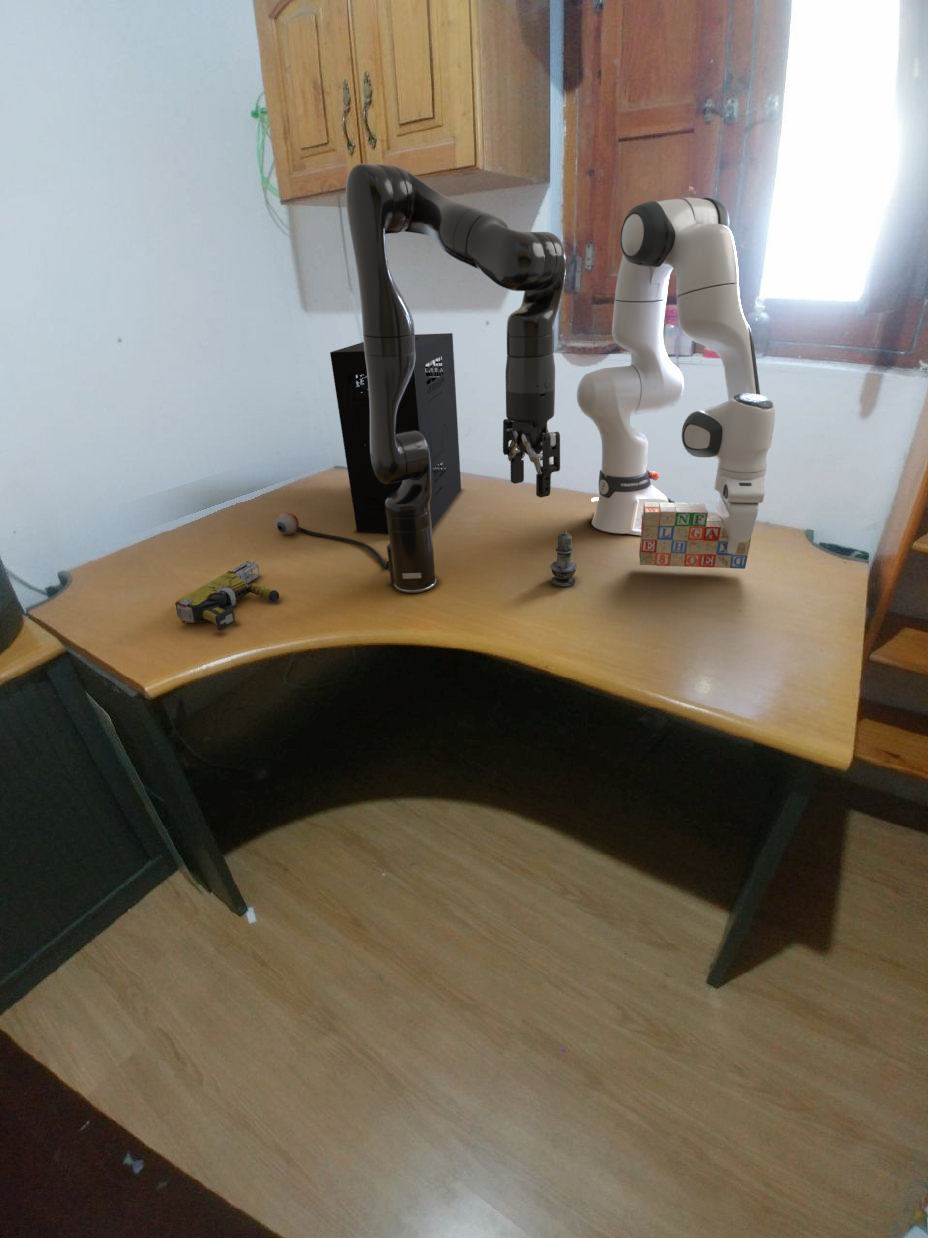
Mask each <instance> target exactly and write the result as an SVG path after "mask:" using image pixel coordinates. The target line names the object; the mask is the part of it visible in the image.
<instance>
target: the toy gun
mask: <svg viewBox="0 0 928 1238" xmlns="http://www.w3.org/2000/svg"><path fill="white" fill-rule="evenodd" d="M251 562H252V561H251V560H247V561H245V562H244V563H242V564H240V565H239V566H237V567H235V568H234V569H232V570H228V571H226V572H225V573H223V574H221V575H220V576H218V577H216V578H214V579H212V580H211V581H209V582H207V583H205V584H203V585H202V586H201V587H199V588H197V589H195V590H193V591H192V592H189V594H187V595H185V596H183V597H181V598H180V599H178V600H176V601H175V603H174V606H175V610H176V615H177V617H178V618H179V620H181V622H182V623H183V624H185V623H186V624H187V625H189V624H192V623H193V624H198V623H199V624H200V623H204V622H207V621H209V622H212V623H213V624H215V625H216V628H217V631H222V630H224V629H226V628H228V627H230V626H231V625H233V624H235V623H236V619H235V611H234V609H233V607H234V606H236V605H237V600H239V599H241V598H242V597H245V596H247V595H249V594H252V595H255V596H258V597H259V598H263V599H265V600H268V601H270V602H272V603H275V602H277V601H278V600H279V599H280V593H279V591H278V590H276V589H271V588H269V587H268V588H267V587H266V586H263V585H262V584H261V585H260V584H258V583H256V582H254V583H252V584H251V585H248V584H249V583H250V582H253V581H254V580H255V579H257V578H259V577H260V567H259V564H258V563H257V562H256V561H253V562H252V563H251ZM256 569H257V573H254V571H255V570H256Z"/></svg>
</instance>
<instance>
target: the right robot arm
mask: <svg viewBox="0 0 928 1238" xmlns="http://www.w3.org/2000/svg"><path fill="white" fill-rule="evenodd" d="M619 242H620V248H621V251H622V257H621V261H620V265H619V270H618V274H617V279H616V285H615V293H614V302H613V312H612V326H611V336H612V339H613V341H614V343H616V344H617V345H618V346H619V347H621V348H622V349H624V350H626V351H628V352H629V353H630V365H623V366H613V367H612V366H611V367H604V368H603V367H602V368H600V369H596V370H594V371H590V372H587V373H585V374H584V375H583V377H582V378H581V379H580V381H579V383H578V386H577V389H576V402H577V405H578V407H579V409H580V411H581V412H582V413H583V415H585V416H586V417H588V418H589V419H590V420H591V421H592V422H593V424H594V425H595V426H596V428H597V431H598V432H599V433H598V434H599V436H600V441H601V468H600V470H599V474H598V492H599V493H598V496H597V497H592V498H591V502H596V501H597V502H596V507H595V511H594V514H593V517H592V520H591V525H592V526H593V527H594V528H595V529H597V530H599V531H601V532H605V533H611V534H623V535H625V534H626V535H632V536H633V535H634V536H641V524H642V516H643V510H644V502H658V503H677V502H675V500H671V498H669V497H667V496H666V495H665V494H664V493H663V492H661V491H660V490H659V489H658V488H656V487H655V486H654V485H652V483H651V480H653V481H658V479H659V478H660V473H659V472H657V471H654V470H651V471H649V470H648V469H647V466H648V458H649V457H648V456H649V447H650V443H649V440H648V438H647V437H646V435H645V434H644V433H643V432H641V431H639V430H637V429H636V428H633V427H632V426H631V425H632V424H631V416H634V415H643V414H652V413H658V412H661V411H665V410H668V409H670V408H672V407H673V408H674V407H675V406H677V404H678V403H679V401H680V400H681V399H682V397H683V393H684V391H685V390H684V389H685V379H684V376H683V373H682V371H681V370H680V369H679V368H678V366H676V365H675V364H674V363H673V362H672V361H671V359H670V357H669V356H668V355H669V354H668V353H667V350H666V347H665V340H664V328H665V327H664V325H665V315H666V307H667V306H666V305H667V298H668V290H669V280H670V275H671V273H672V271H673V270H674V272H675V278H676V280H675V281H676V314H677V315H676V316H677V320H678V325H679V328H680V330H681V332H682V333H683V334H684V335H685V336H686V337H687V338H688V339H689V340H691V341H692V342H694V343H696V344H699V345H701V346H703V347H706V348H707V349H710V350H711V351H713V352H714V353H715V354H716V355H717V356H718V357H719V358H720V360H721V363H722V367H723V372H724V379H725V385H726V394H727V400H726V401H725V402H722V403H720V404H717V405H714V406H709V407H706V408H702V409H698V410H696V411H693V412H691V413H690V414H689V415H688V416H687V417H686V419H685V420H684V422H683V425H682V428H681V442H682V445H683V447H684V449H685V451H686V452H687V453H688V454H689V455H690V456H693V457H695V458H716V459H717V461H718V463H717V469H716V474H715V481H714V486H713V487H714V490H715V491H716V492H718V495H717V496H718V497H717V500H716V510H717V512H718V516H719V517H721V519H722V521H723V523H724V526H725V529H726V532H727V534H728V537H729V540H728V543H727V546H726V551H727V553H728V554H735V553H736V551H737V546H738V544H739V542H747V541H749V539H750V538H751V539H752V535H753V533H754V529H755V525H756V522H757V518H758V514H759V507H760V505H759V504H762V503H764V500H765V487H764V485H765V476H766V471H767V454H768V452H769V450H770V448H771V446H772V440H773V436H774V429H775V422H776V421H775V420H776V418H775V417H776V411H775V405H774V402H773V401H772V400H771V399H770V398H768V397H767V396H764V395H761V389H760V383H759V373H758V366H757V359H756V351H755V342H754V338H753V337H754V336H753V331H752V329H751V326H750V324H749V323H748V321H747V320H746V317H745V315H744V311H743V308H742V304H741V298H740V286H739V283H740V281H739V278H740V277H739V265H738V257H737V250H736V245H735V239H734V235H733V232H732V231H731V229H730V214H729V211H728V209H727V207H726V205H725V204H724V203H723V202H722V201H720V200H717V199H715V198H709V197H702V198H699V197H698V198H697V197H688V196H687V197H686V196H685V197H681V196H680V197H676V198H675V197H674V198H671V199H663V200H659V201H654V200H650V201H649V200H648V201H645V202H643V203H640V204H637V205H635V206H634V207H633V208H631V209H630V210H629V211H628V213H626V216H625V218H624V220H623V222H622V226H621V229H620V236H619Z"/></svg>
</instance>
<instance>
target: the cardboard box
mask: <svg viewBox="0 0 928 1238" xmlns="http://www.w3.org/2000/svg"><path fill="white" fill-rule="evenodd" d="M415 350H416V360H415V366H414V369H413V372H412V375H411V377H410V380H409V382H408V385H407V387H406V389H405V391H404V393H403V396H402V398H401V400H400V403H399V406H398V409H397V414H396V426H395V433H398V432H403V431H408V430H416V431H419V432H420V433H421V434H422V435H423V436H424V438H425V440H426V442H427V444H428V448H429V452H430V462H431V499H430V516H431V527H432V530H433V529H434V527H435V526H436V525H437V523H438V522H439V521H440V519H441V518H442V516H443V515H444V514H445V513H446V511H447V509H448V508H449V507H450V506H451V504H452V503H453V501H454V500H455V499H456V498H457V496H458V495H459V493H460V492H461V491H462V481H461V461H460V443H459V427H458V426H459V425H458V409H457V391H456V390H457V389H456V388H457V387H456V371H455V356H454V355H455V354H454V353H455V352H454V334H453V332H451V333H450V332H447V333H420V334H419V333H417V334H416V333H415ZM329 355H330V361H331V362H330V363H331V369H332V375H333V381H334V382H333V383H334V388H335V396H336V401H337V408H338V415H339V422H340V426H341V427H340V429H341V436H342V441H343V449H344V456H345V461H346V468H347V475H348V481H349V482H348V483H349V488H350V495H351V496H350V497H351V501H352V508H353V515H354V522H355V528H356V532H358V533H379V534H389V532H388V524H387V516H386V508H385V501H386V499H387V497H388V496H389V495H391V494H392V493H393V492H394V491H395V490H396V489H397V488H398V487H399V486H400V485H401V483H402V481H400V482H396V483H391V484H384V483H382V482H380V481H379V480H378V478H377V477H376V475H375V473H374V470H373V467H372V462H371V456H370V405H369V389H368V378H367V368H366V360H365V351H364V341H361V342H359V343H356V344H353V345H349V346H345V347H343V348H342V347H341V348H339V349H336V350H333V351H330V352H329ZM433 361H434V363H433Z"/></svg>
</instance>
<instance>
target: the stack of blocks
mask: <svg viewBox="0 0 928 1238" xmlns="http://www.w3.org/2000/svg"><path fill="white" fill-rule="evenodd" d="M708 515H709V512H708V509H707V508H706V506H705V502H676V503H658V502H644V510H643V516H642V524H641V535H640V543H639V555H638V556H639V557H638V558H639V566H656V567H678V568H679V567H681V568H684V567H685V568H687V567H690V568H715V569H716V568H717V569H740V570H742V569H743V570H744V569H746V566H747V562H748V556H749V552H750V546H751V541H752V537H751V538H750V539H749V541H747V542H739V544H738V546H737V551H736V553H735V554H728V553H727V551H726V546H727V543H728V540H729V537H728V534H727V532H726V529H725V526H724V523H723V521H722V519H721V517H720V516H708Z"/></svg>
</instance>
